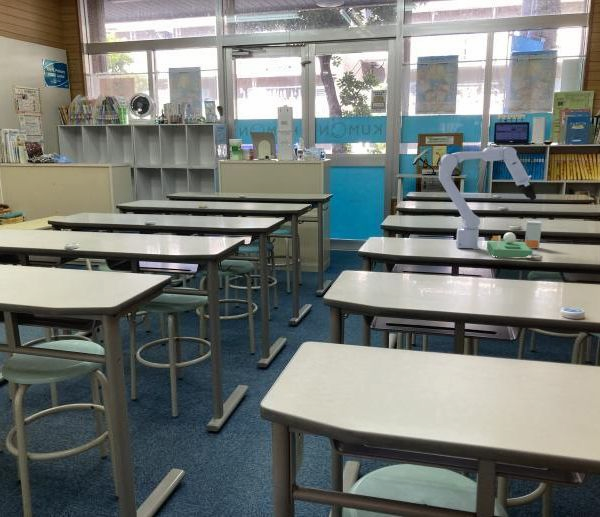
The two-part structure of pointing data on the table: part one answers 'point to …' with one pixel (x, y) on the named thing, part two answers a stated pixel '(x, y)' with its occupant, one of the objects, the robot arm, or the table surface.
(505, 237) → the ball
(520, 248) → the green
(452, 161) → the robot arm
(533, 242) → the skincare box
